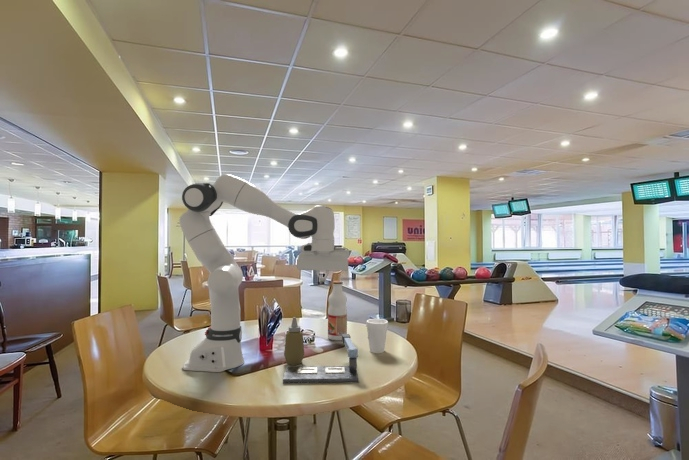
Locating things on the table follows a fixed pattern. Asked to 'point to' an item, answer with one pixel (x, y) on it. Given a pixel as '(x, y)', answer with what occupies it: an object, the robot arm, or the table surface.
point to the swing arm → (349, 346)
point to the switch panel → (322, 374)
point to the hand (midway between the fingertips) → (322, 281)
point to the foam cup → (377, 334)
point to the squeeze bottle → (294, 344)
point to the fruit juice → (337, 312)
